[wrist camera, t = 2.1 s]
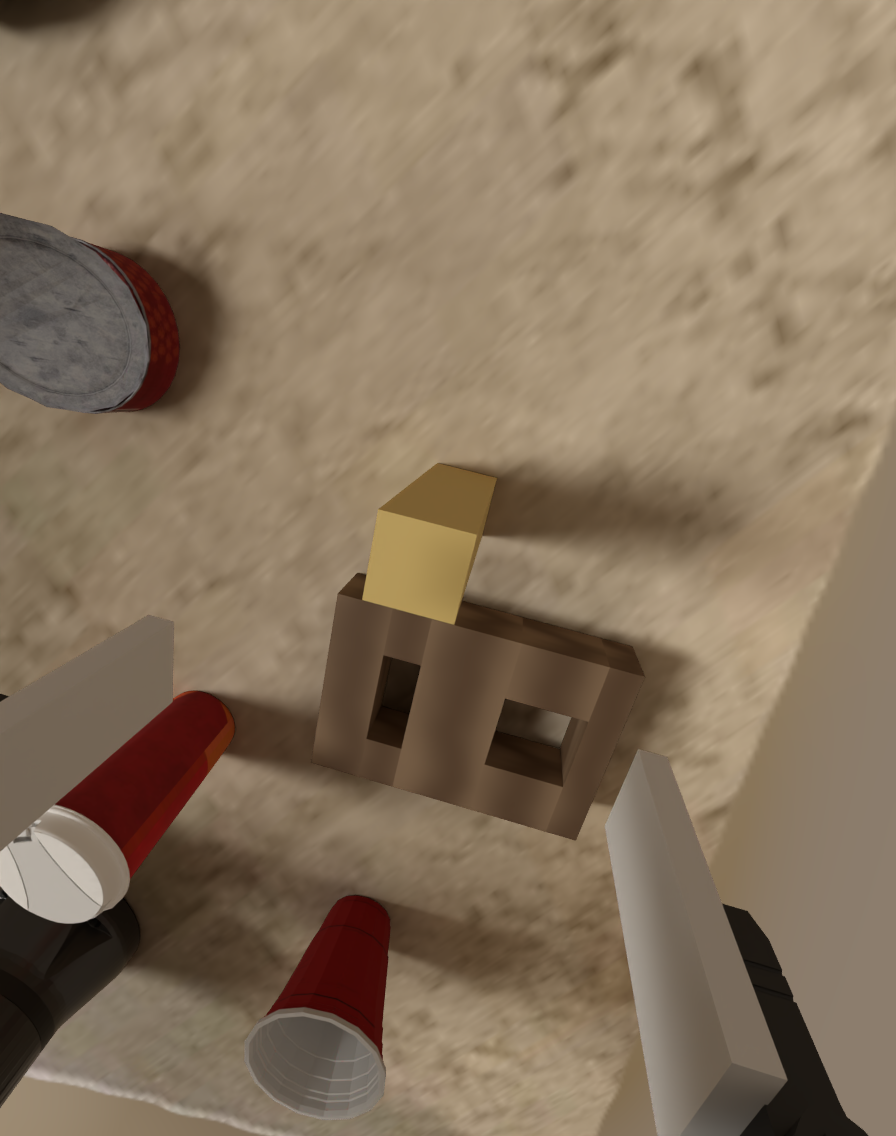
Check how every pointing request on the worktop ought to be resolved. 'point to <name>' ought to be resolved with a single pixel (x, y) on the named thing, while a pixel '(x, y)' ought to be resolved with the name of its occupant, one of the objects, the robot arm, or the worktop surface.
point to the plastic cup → (329, 1019)
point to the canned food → (81, 323)
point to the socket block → (474, 708)
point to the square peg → (429, 543)
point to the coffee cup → (115, 814)
